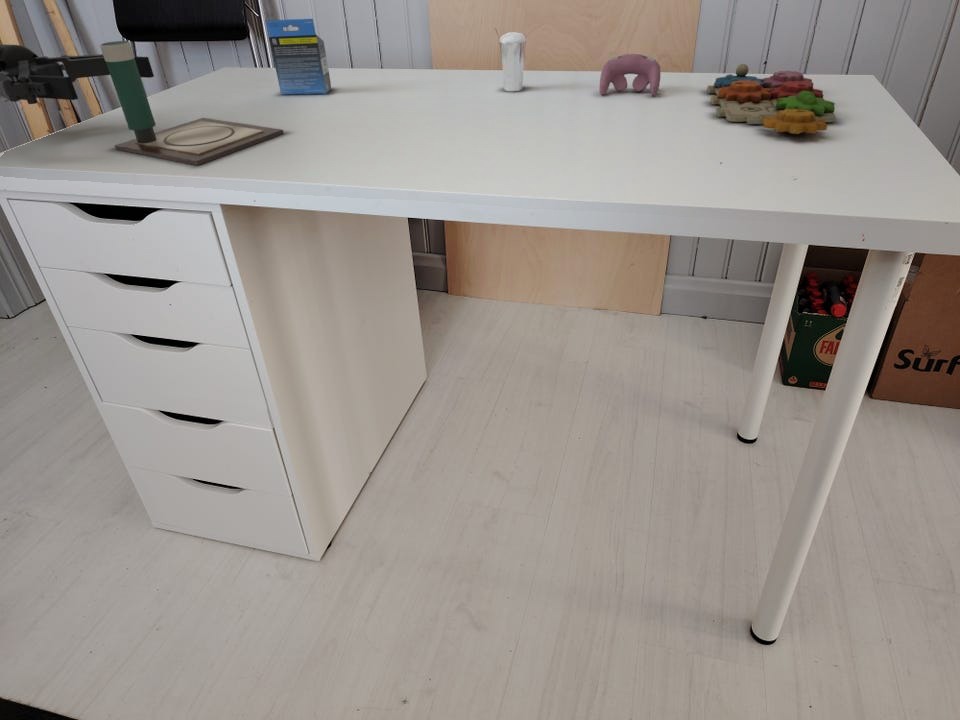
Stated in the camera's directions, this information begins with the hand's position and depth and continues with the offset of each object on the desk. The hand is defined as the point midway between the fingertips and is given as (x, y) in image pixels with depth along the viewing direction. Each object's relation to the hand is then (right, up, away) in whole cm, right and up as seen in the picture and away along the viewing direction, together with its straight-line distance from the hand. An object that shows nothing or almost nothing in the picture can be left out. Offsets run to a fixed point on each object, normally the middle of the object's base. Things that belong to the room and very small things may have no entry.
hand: (113, 77), depth 90 cm
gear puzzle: (+95, -2, +7) cm, 95 cm away
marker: (+2, -7, +5) cm, 9 cm away
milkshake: (+57, +9, +25) cm, 63 cm away
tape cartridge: (+19, +10, +30) cm, 37 cm away
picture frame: (+10, -7, +6) cm, 13 cm away
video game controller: (+76, +6, +20) cm, 79 cm away
